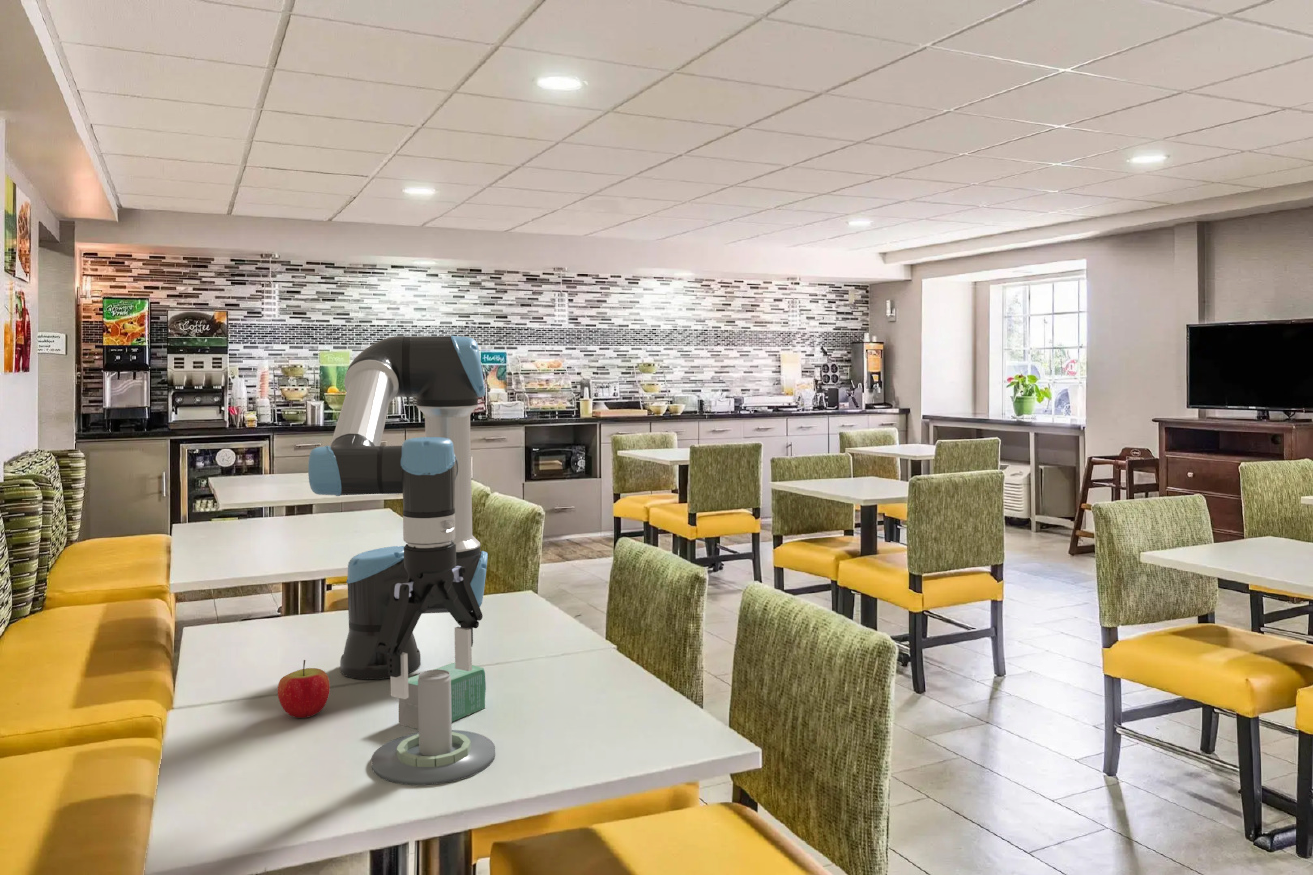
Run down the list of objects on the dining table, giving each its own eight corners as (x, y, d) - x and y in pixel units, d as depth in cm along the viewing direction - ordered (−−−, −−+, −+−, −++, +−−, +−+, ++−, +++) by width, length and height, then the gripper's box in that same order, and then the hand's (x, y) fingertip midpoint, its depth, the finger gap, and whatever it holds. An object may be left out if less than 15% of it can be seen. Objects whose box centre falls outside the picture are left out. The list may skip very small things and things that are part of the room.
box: (487, 708, 165) (486, 665, 164) (429, 733, 153) (428, 688, 153) (456, 700, 169) (455, 659, 168) (397, 725, 157) (396, 680, 157)
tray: (345, 768, 139) (344, 753, 139) (431, 728, 155) (431, 715, 155) (437, 795, 130) (437, 779, 130) (519, 749, 146) (519, 735, 146)
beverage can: (421, 746, 145) (420, 669, 144) (454, 745, 145) (452, 668, 144) (416, 759, 140) (415, 680, 139) (449, 758, 140) (448, 679, 139)
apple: (281, 727, 156) (279, 667, 155) (275, 711, 163) (274, 654, 162) (334, 719, 159) (332, 660, 159) (326, 703, 167) (324, 647, 166)
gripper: (385, 561, 128) (389, 714, 130) (503, 531, 149) (505, 662, 151) (346, 555, 132) (350, 704, 134) (466, 526, 153) (469, 655, 155)
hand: (433, 682), depth 142 cm, fingers open, 13 cm apart
